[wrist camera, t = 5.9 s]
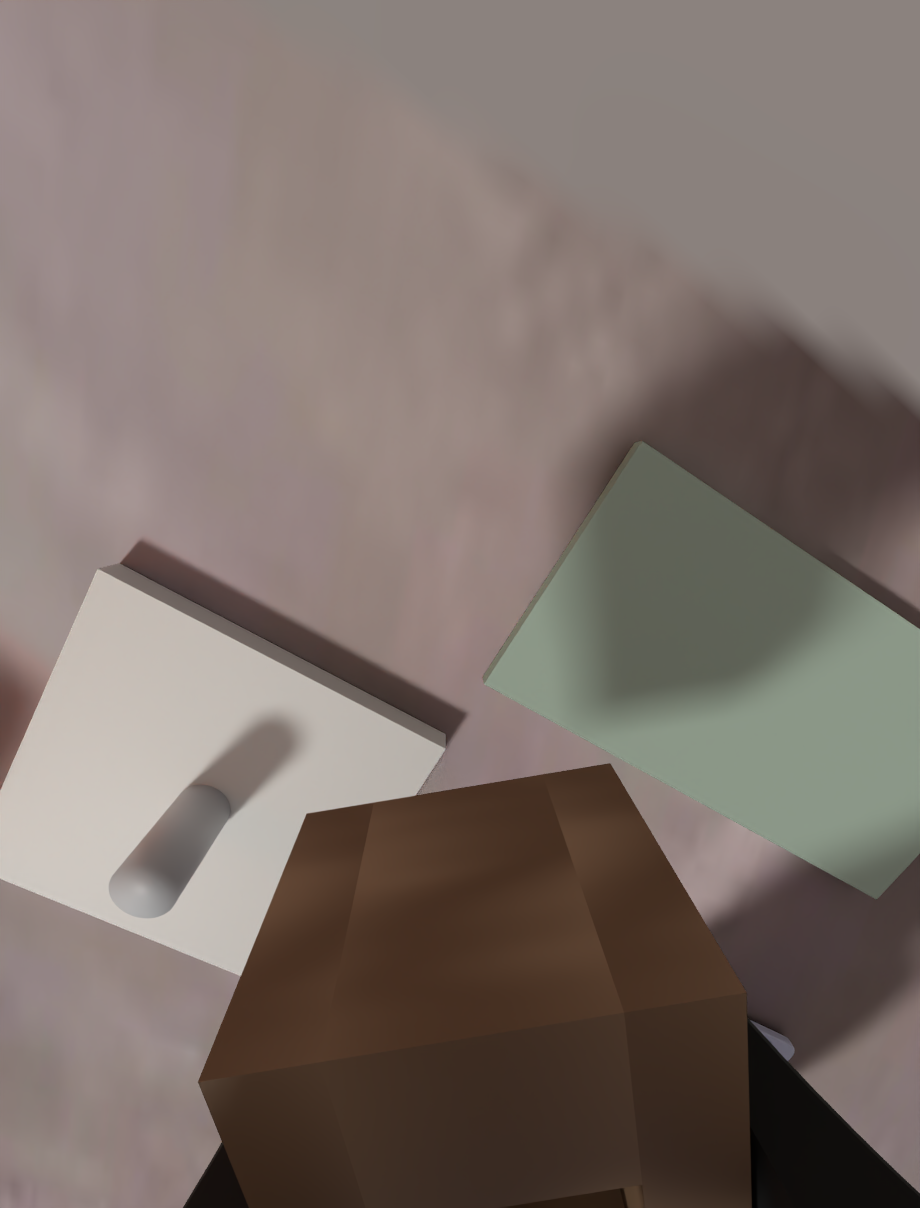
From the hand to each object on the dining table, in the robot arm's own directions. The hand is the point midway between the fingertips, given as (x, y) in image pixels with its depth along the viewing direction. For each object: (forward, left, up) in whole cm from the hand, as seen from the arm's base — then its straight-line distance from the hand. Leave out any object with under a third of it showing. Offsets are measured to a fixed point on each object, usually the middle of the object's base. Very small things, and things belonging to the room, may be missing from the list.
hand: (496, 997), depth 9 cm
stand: (+7, +6, -9) cm, 13 cm away
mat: (-8, -7, -9) cm, 14 cm away
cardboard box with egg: (0, 0, -1) cm, 1 cm away
